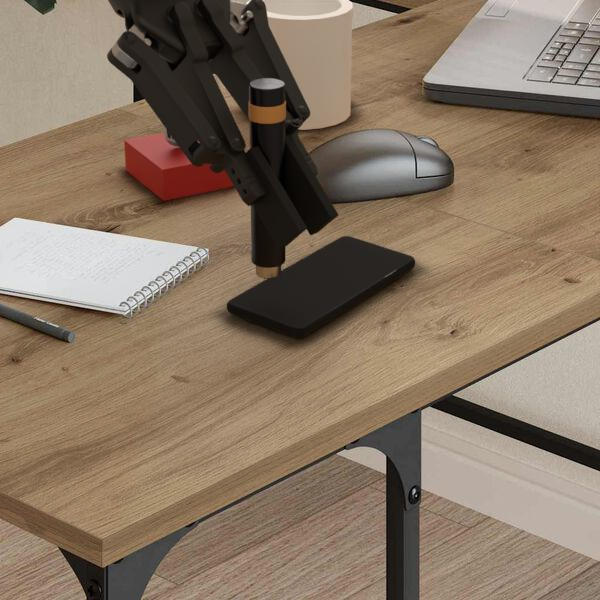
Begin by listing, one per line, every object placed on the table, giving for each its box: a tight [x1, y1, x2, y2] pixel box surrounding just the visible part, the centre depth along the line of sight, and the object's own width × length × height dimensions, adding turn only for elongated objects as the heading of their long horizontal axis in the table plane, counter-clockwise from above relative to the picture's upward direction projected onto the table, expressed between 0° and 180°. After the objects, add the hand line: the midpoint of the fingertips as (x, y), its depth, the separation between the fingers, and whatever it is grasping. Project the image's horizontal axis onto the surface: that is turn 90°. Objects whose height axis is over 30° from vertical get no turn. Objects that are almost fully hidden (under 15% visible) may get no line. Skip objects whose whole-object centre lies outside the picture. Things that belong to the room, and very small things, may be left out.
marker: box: [248, 78, 286, 280], centre depth 97 cm, size 2×2×14 cm
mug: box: [216, 0, 354, 131], centre depth 137 cm, size 14×10×11 cm
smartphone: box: [226, 235, 416, 339], centre depth 103 cm, size 7×1×15 cm
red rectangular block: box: [123, 124, 235, 202], centre depth 122 cm, size 8×7×6 cm
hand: (308, 231), depth 95 cm, fingers closed on marker, 2 cm apart
